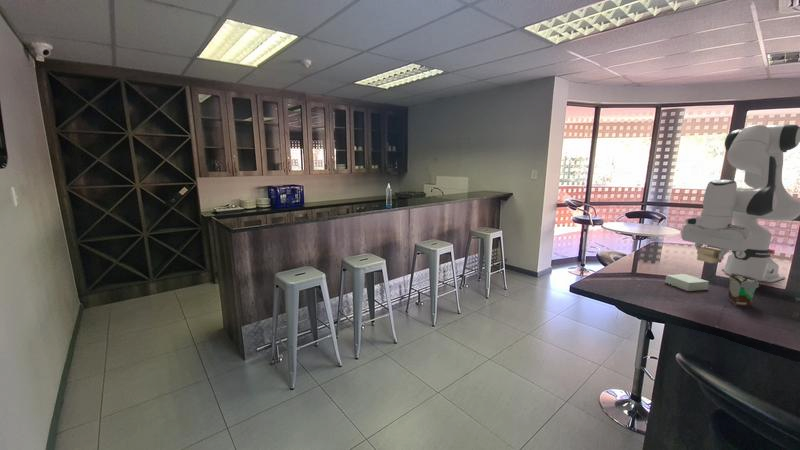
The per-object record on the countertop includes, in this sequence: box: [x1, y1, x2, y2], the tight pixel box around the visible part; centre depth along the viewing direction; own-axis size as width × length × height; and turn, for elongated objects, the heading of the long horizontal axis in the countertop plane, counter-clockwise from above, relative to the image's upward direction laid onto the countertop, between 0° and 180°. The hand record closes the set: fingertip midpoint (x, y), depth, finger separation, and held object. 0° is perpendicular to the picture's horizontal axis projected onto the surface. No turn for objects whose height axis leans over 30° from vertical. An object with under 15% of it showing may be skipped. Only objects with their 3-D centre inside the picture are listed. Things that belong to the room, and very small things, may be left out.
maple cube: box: [696, 246, 723, 264], centre depth 124 cm, size 5×5×5 cm
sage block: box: [665, 273, 710, 292], centre depth 140 cm, size 10×10×4 cm
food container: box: [727, 273, 760, 308], centre depth 122 cm, size 12×6×10 cm, turn 148°
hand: (709, 256), depth 124 cm, fingers closed on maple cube, 5 cm apart
